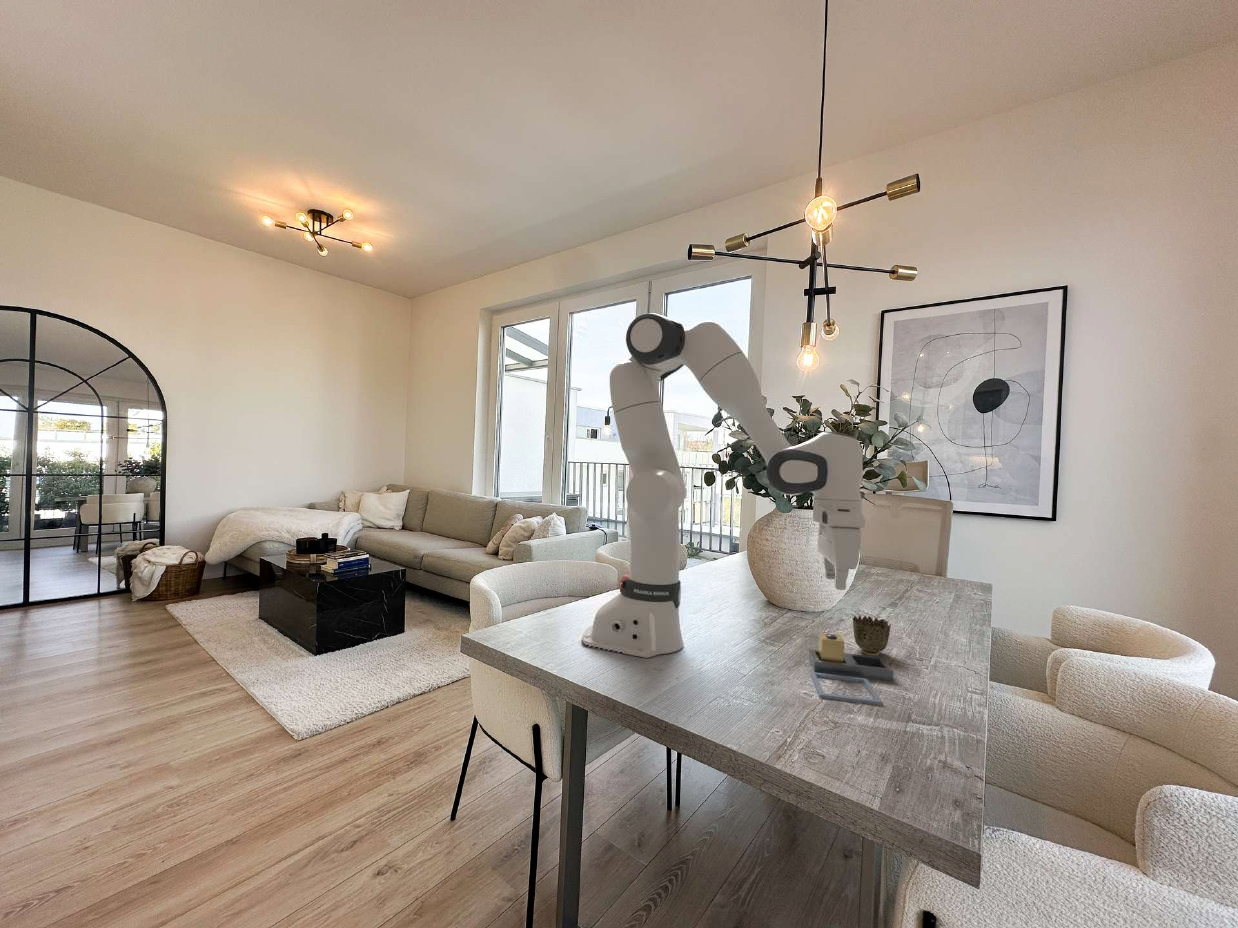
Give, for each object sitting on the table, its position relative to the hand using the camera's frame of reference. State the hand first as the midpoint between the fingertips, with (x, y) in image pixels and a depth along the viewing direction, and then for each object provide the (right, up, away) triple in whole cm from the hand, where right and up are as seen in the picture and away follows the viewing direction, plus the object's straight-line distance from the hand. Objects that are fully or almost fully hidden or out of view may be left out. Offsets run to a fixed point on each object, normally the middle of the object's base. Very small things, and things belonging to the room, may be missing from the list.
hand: (834, 583), depth 101 cm
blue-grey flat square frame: (-3, -18, -10) cm, 20 cm away
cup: (+12, -18, +10) cm, 24 cm away
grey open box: (+2, -18, -1) cm, 18 cm away
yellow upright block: (-1, -17, 0) cm, 17 cm away
